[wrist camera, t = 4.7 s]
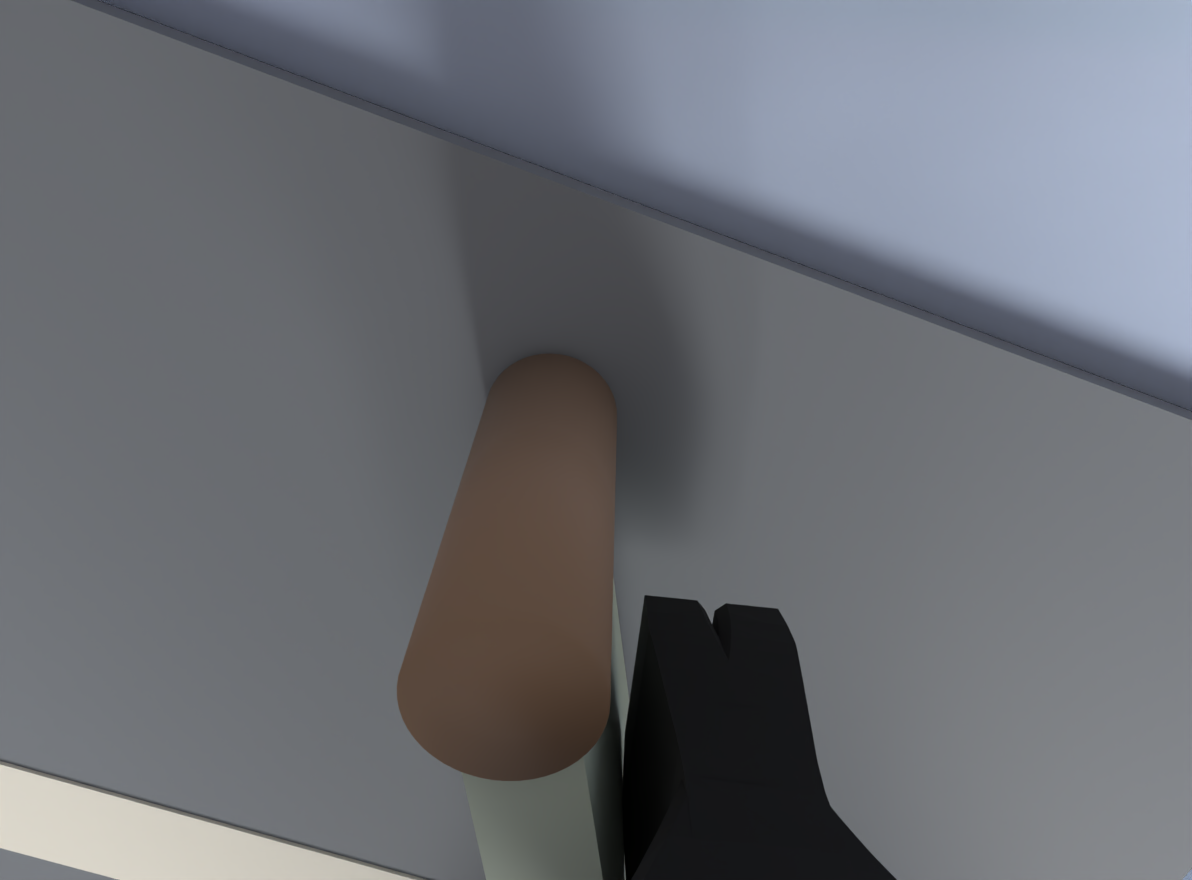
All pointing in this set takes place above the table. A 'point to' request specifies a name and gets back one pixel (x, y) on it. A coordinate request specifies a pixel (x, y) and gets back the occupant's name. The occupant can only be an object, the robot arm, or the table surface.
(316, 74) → the table surface
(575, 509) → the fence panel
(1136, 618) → the board
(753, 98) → the table surface
